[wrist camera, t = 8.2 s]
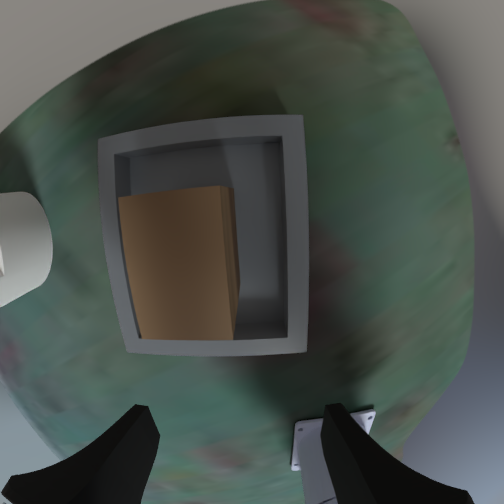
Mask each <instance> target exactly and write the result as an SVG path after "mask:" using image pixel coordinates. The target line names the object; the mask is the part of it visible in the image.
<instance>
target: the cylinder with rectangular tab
mask: <svg viewBox="0 0 504 504" xmlns="http://www.w3.org/2000/svg"><path fill="white" fill-rule="evenodd" d="M52 251H53V245H52V236H51V230H50V226H49V222H48V219H47V216H46V214H45V212H44V209H43V207H42V206H41V205H40V203H39V202H38V200H37V199H36V198H35V197H34V196H32V195H31V194H30V193H26V192H23V191H22V192H10V193H0V308H1V307H2V306H4V305H6V304H8V303H9V302H11V301H13V300H15V299H16V298H18V297H20V296H22V295H24V294H25V293H27V292H29V291H31V290H33V289H35V288H37V287H38V286H40V285H41V284H42V283H43V282H44V281H45V280H46V278H47V276H48V274H49V272H50V267H51V263H52Z"/></svg>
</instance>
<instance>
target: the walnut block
mask: <svg viewBox="0 0 504 504" xmlns="http://www.w3.org/2000/svg"><path fill="white" fill-rule="evenodd" d="M118 201H119V212H120V222H121V230H122V238H123V246H124V253H125V259H126V266H127V271H128V277H129V283H130V288H131V293H132V298H133V303H134V307H135V312H136V316H137V321H138V325H139V329H140V333H141V337H142V339H151V340H233V337H234V330H235V322H236V314H237V307H238V299H239V292H240V284H241V282H240V269H239V256H238V242H237V228H236V213H235V198H234V188H229V187H225V186H220V185H219V186H208V187H197V188H187V189H178V190H169V191H161V192H153V193H146V194H138V195H132V196H125V197H118Z"/></svg>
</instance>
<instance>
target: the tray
mask: <svg viewBox="0 0 504 504" xmlns="http://www.w3.org/2000/svg"><path fill="white" fill-rule="evenodd" d="M98 183H99V200H100V212H101V223H102V232H103V240H104V247H105V254H106V260H107V267H108V272H109V278H110V283H111V288H112V293H113V298H114V303H115V307H116V311H117V316H118V320H119V324H120V328H121V331H122V335H123V339H124V342H125V346H126V349H127V352H130V353H142V354H156V355H176V356H254V355H274V354H289V353H301V352H307V334H308V305H309V215H308V186H307V165H306V149H305V134H304V122H303V115H252V116H235V117H222V118H211V119H202V120H194V121H186V122H179V123H172V124H166V125H160V126H154V127H149V128H143V129H138V130H134V131H129V132H124V133H120V134H116V135H112V136H108V137H104V138H100V139H98ZM219 185H220V186H225V187H229V188H234V198H235V213H236V228H237V242H238V256H239V269H240V282H241V284H240V292H239V299H238V307H237V314H236V322H235V330H234V337H233V340H151V339H142V337H141V333H140V329H139V325H138V321H137V316H136V312H135V307H134V303H133V298H132V293H131V288H130V283H129V277H128V271H127V266H126V259H125V253H124V246H123V238H122V230H121V222H120V212H119V201H118V197H125V196H132V195H138V194H146V193H153V192H161V191H169V190H178V189H187V188H197V187H208V186H219Z"/></svg>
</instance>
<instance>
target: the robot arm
mask: <svg viewBox="0 0 504 504" xmlns="http://www.w3.org/2000/svg"><path fill="white" fill-rule="evenodd" d="M375 414H376V412H375V410H374V409H370V410H365V411H361V412H356V413H351V414H349V412H348V411H347V410H346V409H345V407H344V406H343V405H342V404H341V403H336V404H330V405H325V411H324V417H323V418H320V419H313V420H305V421H298V422H297V423H296V424H295V432H294V444H293V454H292V464H291V469H292V470H294V471H296V470H301V477H302V484H303V491H304V498H305V504H474V502H473V500H472V498H471V496H470V495H469V493H468V492H467V491H466V490H461V489H458V488H454V487H451V486H447V485H444V484H442V483H439V482H437V481H434V480H432V479H430V478H428V477H426V476H424V475H422V474H420V473H418V472H416V471H414V470H412V469H411V468H409V467H407V466H406V465H404V464H403V463H401V462H400V461H398V460H397V459H396V458H394V457H393V456H392V455H390V454H389V453H388V452H387V451H386V450H384V449H383V448H382V447H381V446H380V445H379V444H378V443H376V442H375V441H374V440H373V439H372V438H371V437H370V436H369V435H368V434H369V431H370V428H371V425H372V423H373V420H374V417H375ZM159 439H160V434H159V432H158V429H157V427H156V425H155V422H154V420H153V417H152V415H151V413H150V410H149V407H148V406H143V405H137V404H135V405H134V406H133V407H132V408H131V409H130V410H128V411H127V412H126V413H125V414H124V415H123V416H122V417H121V418H120V419H119V420H118V421H117V422H116V423H114V424H113V425H112V426H111V427H110V428H109V429H108V430H107V431H105V432H104V433H103V434H102V435H101V436H99V437H98V438H97V439H96V440H94V441H93V442H92V443H90V444H89V445H88V446H86V447H85V448H84V449H82V450H81V451H79V452H77V453H76V454H74V455H72V456H71V457H69V458H67V459H65V460H63V461H61V462H58V463H56V464H54V465H52V466H49V467H46V468H44V469H41V470H37V471H34V472H30V473H25V474H20V475H14V476H11V477H10V479H9V481H8V482H7V484H6V485H5V487H4V488H3V490H2V492H1V493H2V495H3V496H4V497H5V498H6V499H8V500H9V501H10V502H11V503H12V504H141V499H142V496H143V492H144V489H145V486H146V483H147V480H148V477H149V475H150V472H151V469H152V466H153V463H154V460H155V457H156V454H157V449H158V444H159ZM3 504H6V503H3Z"/></svg>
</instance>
